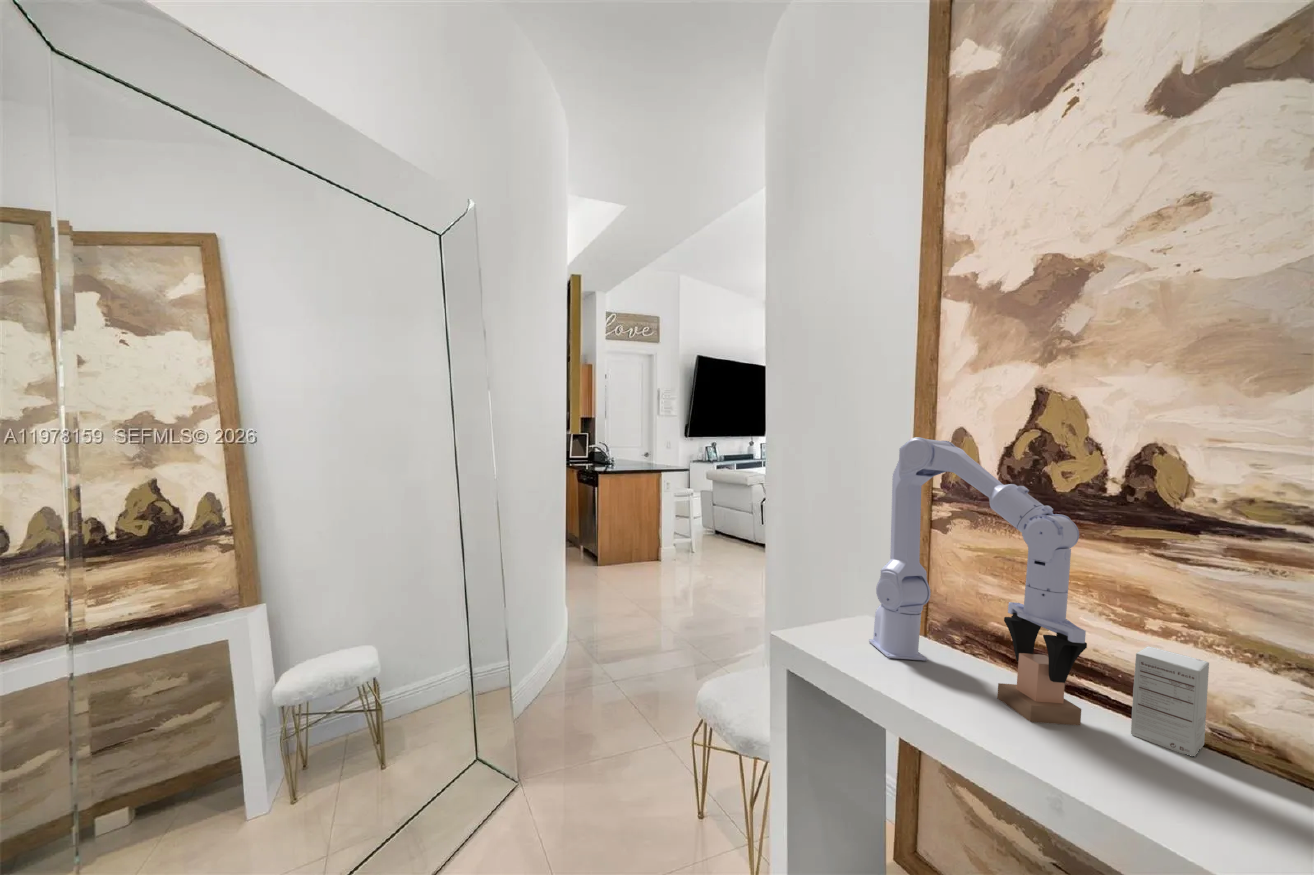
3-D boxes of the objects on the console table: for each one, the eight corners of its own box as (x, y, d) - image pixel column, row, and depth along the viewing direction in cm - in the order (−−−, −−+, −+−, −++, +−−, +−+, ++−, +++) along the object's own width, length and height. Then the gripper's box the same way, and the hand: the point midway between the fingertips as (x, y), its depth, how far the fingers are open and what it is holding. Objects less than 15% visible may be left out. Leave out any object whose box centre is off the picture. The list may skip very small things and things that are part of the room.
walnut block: (996, 700, 94) (998, 683, 94) (1042, 704, 94) (1044, 686, 94) (1030, 724, 86) (1031, 705, 86) (1080, 728, 86) (1081, 708, 86)
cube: (1042, 690, 92) (1045, 654, 93) (1063, 703, 88) (1066, 665, 88) (1016, 689, 92) (1019, 653, 92) (1035, 701, 88) (1038, 663, 88)
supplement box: (1141, 723, 89) (1147, 644, 89) (1205, 746, 83) (1211, 661, 83) (1128, 734, 85) (1134, 652, 85) (1194, 759, 79) (1201, 670, 79)
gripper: (993, 575, 98) (987, 652, 97) (1056, 599, 83) (1049, 689, 83) (1032, 578, 98) (1026, 655, 98) (1101, 602, 83) (1094, 692, 83)
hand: (1039, 671), depth 90 cm, fingers open, 7 cm apart
